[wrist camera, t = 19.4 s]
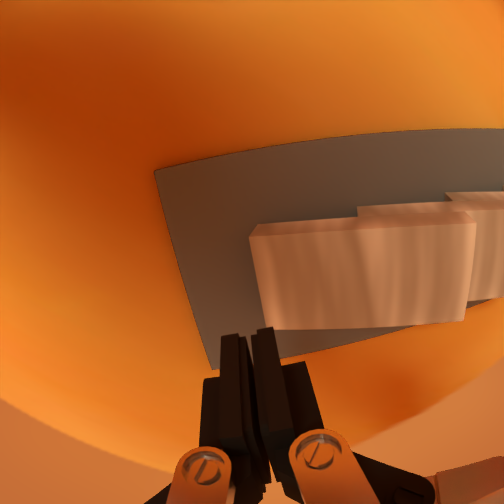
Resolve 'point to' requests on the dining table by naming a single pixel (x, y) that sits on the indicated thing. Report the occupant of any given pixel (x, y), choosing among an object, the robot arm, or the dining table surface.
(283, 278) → the cream domino
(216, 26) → the dining table surface
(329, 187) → the slate mat
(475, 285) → the cream domino
